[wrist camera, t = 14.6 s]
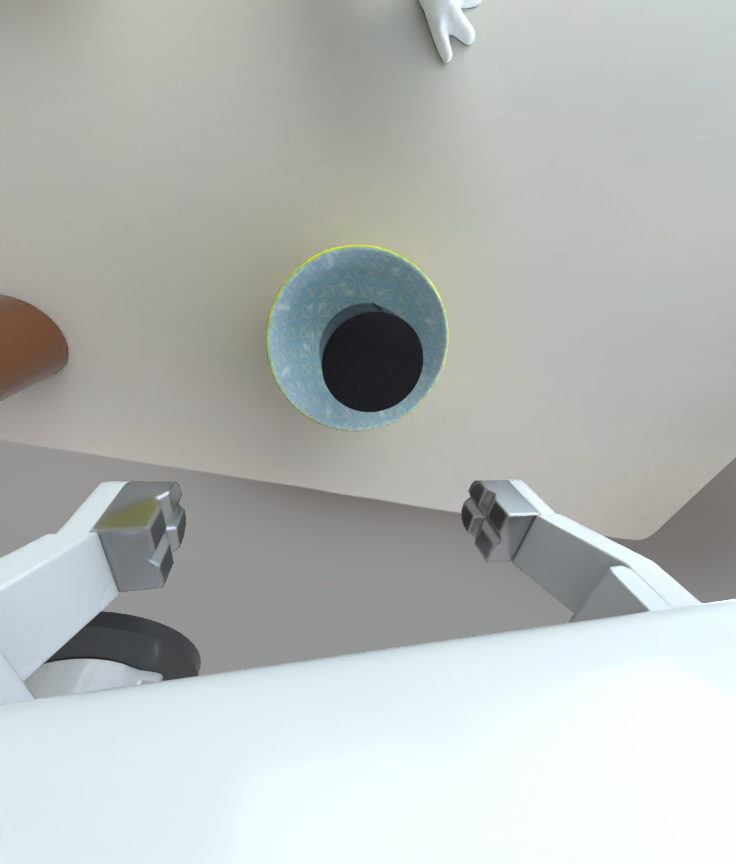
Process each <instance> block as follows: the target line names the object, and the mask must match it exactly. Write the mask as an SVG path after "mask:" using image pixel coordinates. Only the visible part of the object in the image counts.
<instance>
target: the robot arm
mask: <svg viewBox="0 0 736 864" xmlns="http://www.w3.org/2000/svg"><path fill="white" fill-rule="evenodd" d="M469 493H470V496H471V497H470V498H468V499H467V500H466V501H465V502H464V505H463V508H462V521H463V525H464V527H465V529H466V530H467V532H468V533H469V534H471V535H472V536H474V537H475V538H476V541H475V545H476V547H477V548H478V550H479V551H480V553H481V554H482V556H483V558H484V559H485V561H486V562H507V561H512V563H513V564H514V565H515V566H516V567H518V568H519V569H520V570H521V571H523V572H524V573H525V574H526V575H528V576H529V577H530V578H531V579H532V580H534V581H535V582H536V583H537V584H539V585H540V586H541V587H542V588H543V589H545V590H546V591H547V592H548V593H550V594H551V595H552V596H553V597H555V598H556V599H557V600H558V601H560V602H561V603H562V604H563V605H564V606H566V607H567V608H568V609H569V610H570V611H572V612H573V613H574V615H573V617H572V618H571V619H570V621H569V622H568V623H564V624H558V625H550V626H544V627H536V628H529V629H523V630H516V631H509V632H501V633H495V634H487V635H481V636H473V637H466V638H459V639H452V640H446V641H439V642H431V643H425V644H417V645H410V646H404V647H397V648H390V649H383V650H376V651H369V652H362V653H355V654H348V655H341V656H335V657H327V658H320V659H313V660H306V661H300V662H292V663H285V664H278V665H272V666H264V667H258V668H250V669H244V670H236V671H229V672H222V673H215V674H208V675H201V676H194V677H187V678H180V679H173V680H166V681H163V675H162V674H160V673H156V672H150V671H143V670H138V669H135V668H133V667H130V666H128V665H125V664H122V663H118V662H114V661H108V660H101V659H68V660H60V661H54V662H49V663H45V662H46V661H47V660H48V659H49V658H50V657H51V656H52V655H53V654H55V653H56V652H57V651H58V650H59V649H60V648H61V647H62V646H63V645H64V644H66V643H67V642H68V641H69V640H70V639H71V638H72V637H73V636H74V635H75V634H77V633H78V632H79V631H80V630H81V629H82V628H83V627H84V626H85V625H86V624H88V623H89V622H90V621H91V620H92V619H93V618H94V617H95V616H96V615H97V614H99V613H100V612H101V611H102V610H103V609H104V608H105V607H106V606H107V605H108V604H110V603H111V602H112V601H113V600H114V599H115V598H116V597H117V596H118V595H119V592H128V591H138V590H147V589H157V588H163V587H164V585H165V582H166V580H167V577H168V575H169V572H170V570H171V568H172V565H173V558H172V553H173V552H174V551H175V550H177V549H178V548H179V547H180V544H181V542H182V539H183V536H184V531H185V525H186V524H185V523H186V519H185V518H186V517H185V510H184V508H183V507H181V506H180V505H179V504H178V503H179V501H180V498H181V496H182V493H181V488H180V484H178V483H177V482H140V481H136V482H135V481H130V482H127V481H124V482H123V481H121V482H120V481H106V482H103V483H101V484H99V485H98V486H97V487H96V488H95V490H94V491H93V492H92V493H91V494H90V495H89V497H88V498H87V499H86V500H85V501H84V502H83V503H82V505H81V506H80V507H79V508H78V509H77V510H76V512H75V513H74V514H73V515H72V516H71V517H70V518H69V520H68V521H67V522H66V523H65V524H64V526H63V527H62V528H61V529H60V530H59V531H58V532H57V533H56V534H46V535H45V536H43V537H41V538H39V539H37V540H35V541H33V542H31V543H29V544H27V545H25V546H23V547H21V548H19V549H17V550H15V551H13V552H12V553H10V554H8V555H6V556H4V557H2V558H0V864H736V599H732V600H725V601H718V602H712V603H704V604H702V603H701V602H699V601H698V600H697V599H696V598H695V597H694V596H693V595H691V594H690V593H689V592H688V591H687V590H686V589H684V588H683V587H682V586H681V585H680V584H678V583H677V582H676V581H675V580H674V579H673V578H672V577H671V576H669V575H668V574H667V573H666V572H665V571H663V570H662V569H661V568H660V567H659V566H657V564H655V563H654V562H653V561H651V560H649V559H647V558H645V557H643V556H641V555H639V554H637V553H635V552H633V551H631V550H629V549H627V548H625V547H624V546H622V545H619V544H618V543H616V542H614V541H612V540H610V539H608V538H606V537H604V536H602V535H600V534H598V533H596V532H594V531H592V530H590V529H588V528H586V527H584V526H582V525H581V524H579V523H577V522H575V521H573V520H571V519H569V518H567V517H565V516H563V515H561V514H560V515H557V514H555V513H554V512H553V511H552V510H551V509H550V508H549V507H548V506H547V505H546V504H545V503H544V502H543V501H542V500H541V499H540V498H539V497H538V496H537V495H536V494H535V493H534V492H533V491H532V490H531V489H530V488H529V487H528V486H527V485H526V484H525V483H524V482H523V481H521V480H518V479H513V480H486V481H474V482H473V483H472V484H471V486H470V489H469ZM44 663H45V664H44Z"/></svg>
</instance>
